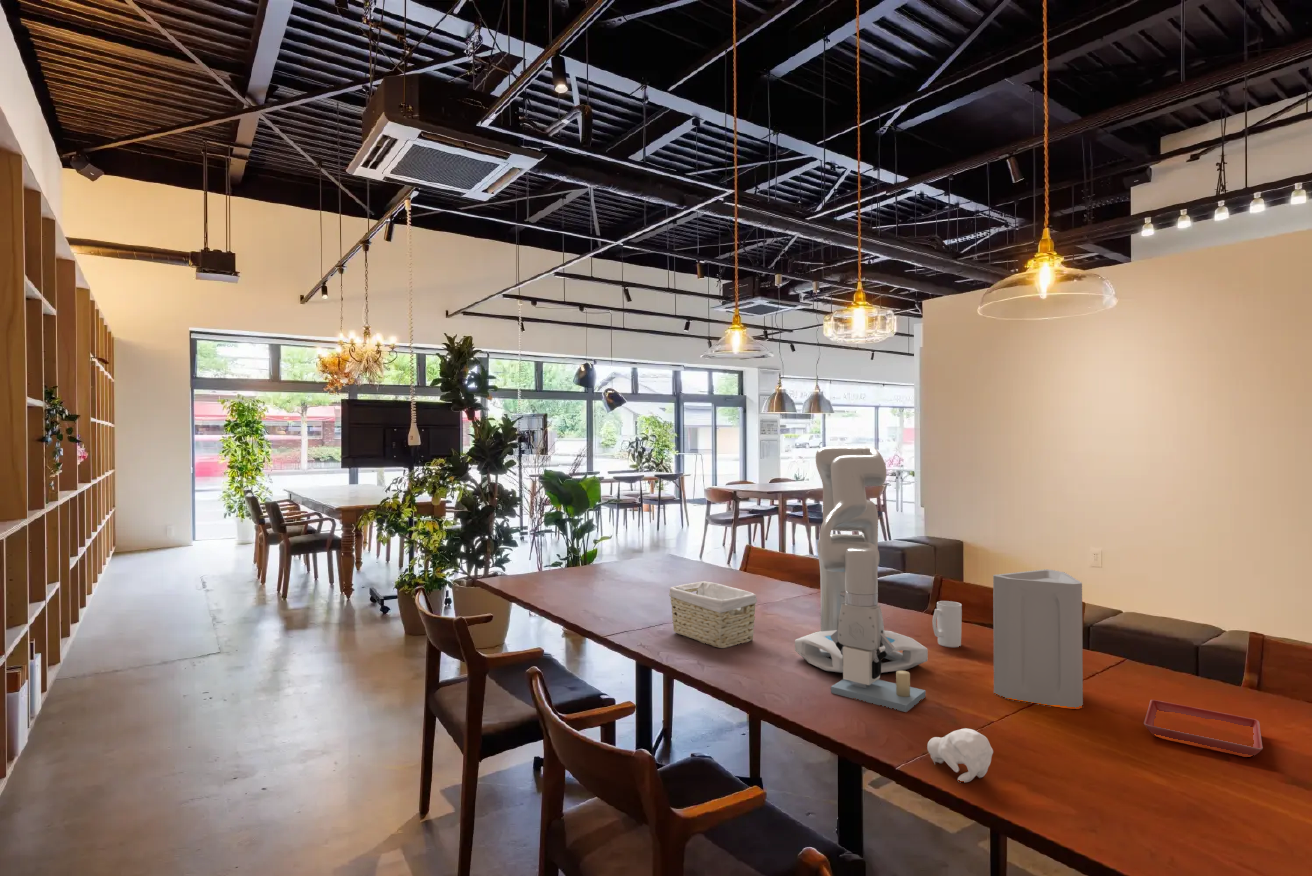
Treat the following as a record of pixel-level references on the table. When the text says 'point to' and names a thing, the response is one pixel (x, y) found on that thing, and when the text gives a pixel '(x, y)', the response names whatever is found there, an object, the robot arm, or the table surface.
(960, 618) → the mug
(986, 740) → the white animal figure
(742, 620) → the storage basket
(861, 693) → the slate board
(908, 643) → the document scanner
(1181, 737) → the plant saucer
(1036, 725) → the table surface
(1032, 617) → the grey triangular planter
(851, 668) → the matte white cube
